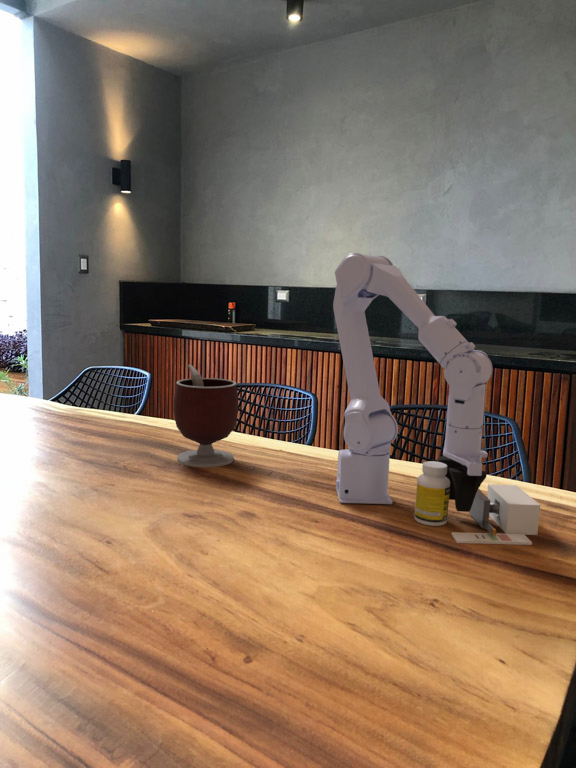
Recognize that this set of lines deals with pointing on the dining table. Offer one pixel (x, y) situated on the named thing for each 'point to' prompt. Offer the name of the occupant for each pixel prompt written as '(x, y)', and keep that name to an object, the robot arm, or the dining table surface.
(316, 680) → the dining table surface
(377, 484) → the robot arm
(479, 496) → the plunger
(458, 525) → the dining table surface
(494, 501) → the gauge
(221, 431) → the mate gourd
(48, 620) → the dining table surface
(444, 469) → the supplement bottle
